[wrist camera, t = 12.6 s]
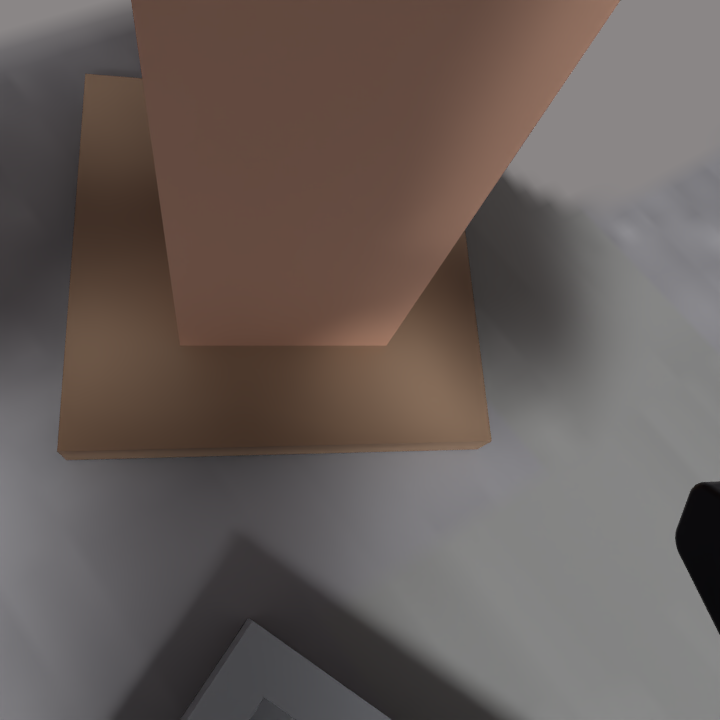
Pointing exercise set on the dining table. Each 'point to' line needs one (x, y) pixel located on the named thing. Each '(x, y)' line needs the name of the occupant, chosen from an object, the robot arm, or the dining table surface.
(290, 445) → the pad
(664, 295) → the dining table surface
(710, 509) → the robot arm
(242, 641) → the hole frame
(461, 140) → the tall block
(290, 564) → the dining table surface
